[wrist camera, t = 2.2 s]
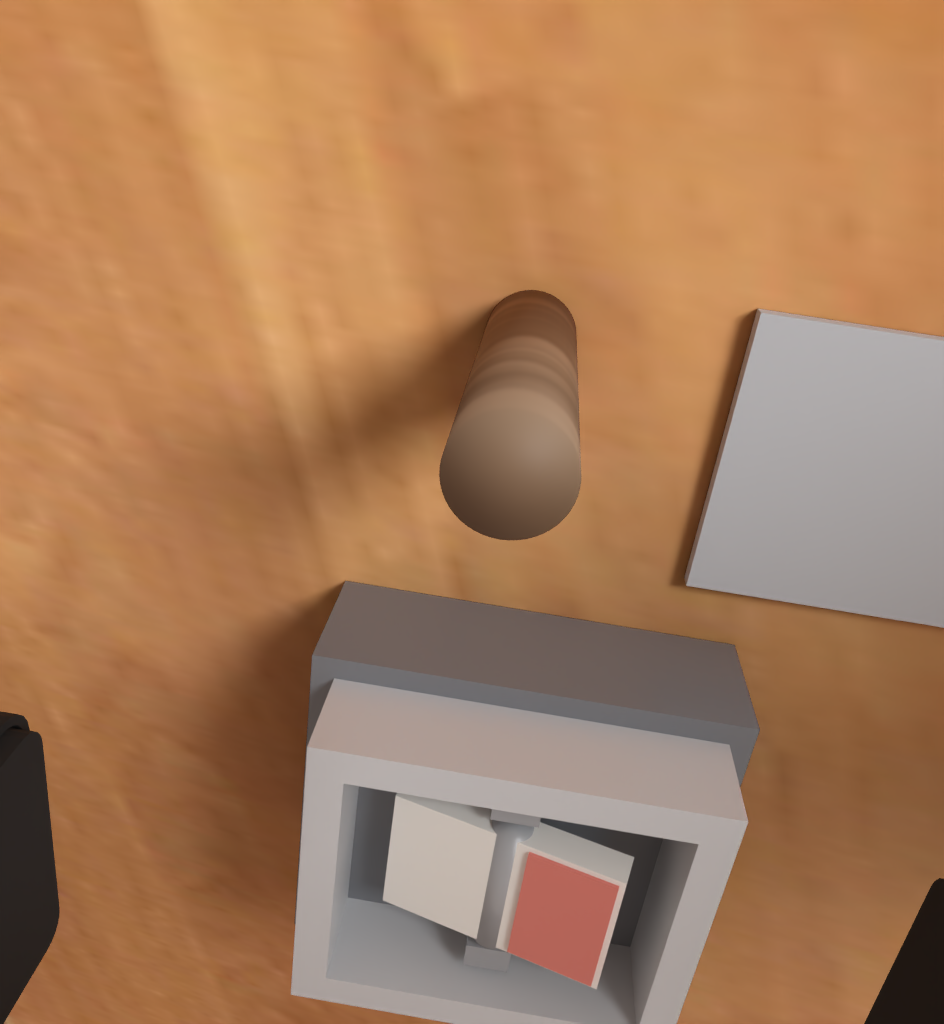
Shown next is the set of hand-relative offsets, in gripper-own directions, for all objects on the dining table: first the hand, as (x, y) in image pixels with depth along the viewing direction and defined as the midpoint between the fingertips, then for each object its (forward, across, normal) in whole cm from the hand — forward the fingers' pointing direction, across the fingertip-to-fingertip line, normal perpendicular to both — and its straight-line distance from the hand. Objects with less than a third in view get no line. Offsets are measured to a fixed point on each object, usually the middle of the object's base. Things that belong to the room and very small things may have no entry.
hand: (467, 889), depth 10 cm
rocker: (+16, -2, +17) cm, 23 cm away
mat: (+23, -12, +3) cm, 26 cm away
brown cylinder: (+23, 0, 0) cm, 23 cm away
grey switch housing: (+23, -2, +17) cm, 28 cm away
